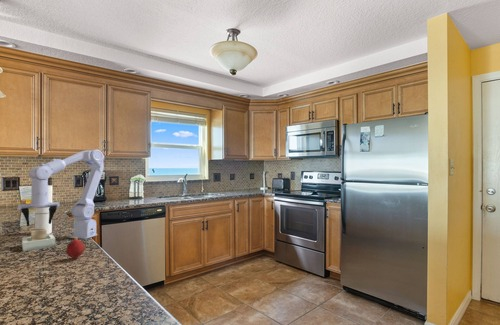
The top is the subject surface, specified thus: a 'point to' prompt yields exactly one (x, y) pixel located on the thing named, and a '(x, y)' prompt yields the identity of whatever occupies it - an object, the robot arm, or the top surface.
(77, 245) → the onion
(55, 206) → the robot arm
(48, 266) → the top surface
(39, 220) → the cylindrical container
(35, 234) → the block
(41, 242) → the dish
